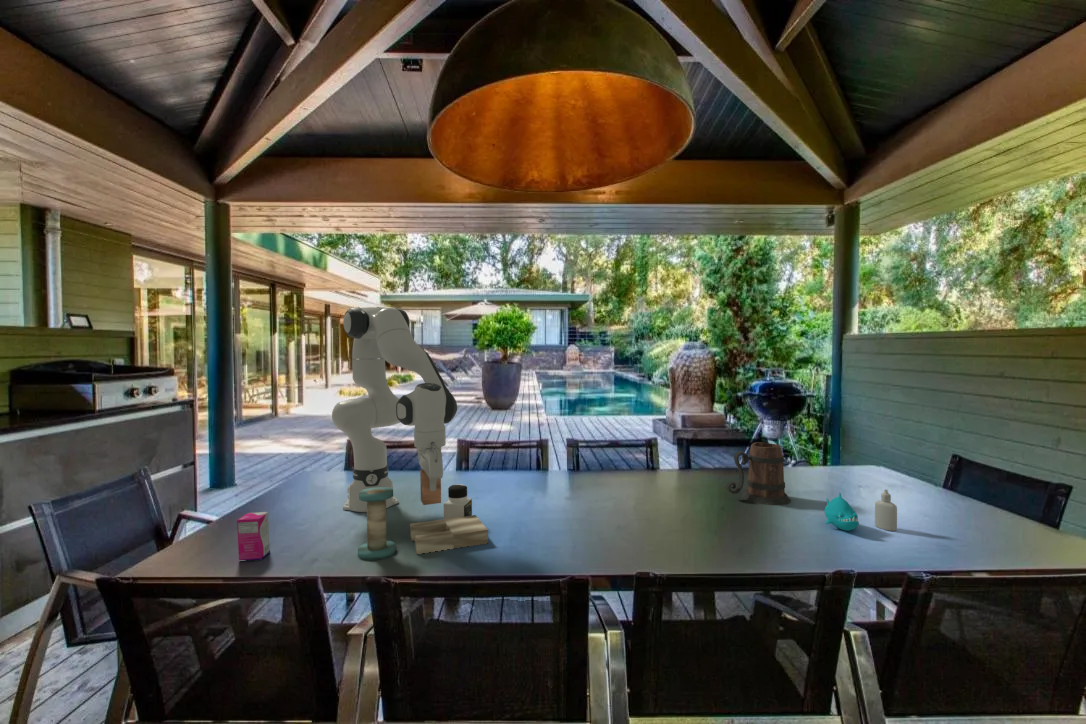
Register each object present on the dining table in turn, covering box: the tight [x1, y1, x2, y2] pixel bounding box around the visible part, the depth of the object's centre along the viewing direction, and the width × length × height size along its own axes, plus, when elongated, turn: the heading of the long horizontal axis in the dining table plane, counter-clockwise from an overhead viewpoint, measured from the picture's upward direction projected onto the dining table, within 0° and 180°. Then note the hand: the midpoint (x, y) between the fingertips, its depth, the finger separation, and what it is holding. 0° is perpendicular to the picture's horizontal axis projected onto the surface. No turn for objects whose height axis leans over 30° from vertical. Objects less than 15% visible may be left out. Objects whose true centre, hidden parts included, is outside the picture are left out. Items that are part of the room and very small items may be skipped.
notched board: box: [409, 514, 489, 555], centre depth 146 cm, size 14×20×4 cm
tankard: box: [725, 441, 792, 506], centre depth 185 cm, size 24×17×20 cm
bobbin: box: [357, 487, 397, 561], centre depth 138 cm, size 10×10×17 cm
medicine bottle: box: [443, 483, 473, 519], centre depth 162 cm, size 7×7×12 cm
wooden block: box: [419, 468, 442, 506], centre depth 144 cm, size 5×5×9 cm
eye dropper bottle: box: [874, 488, 898, 532], centre depth 153 cm, size 4×6×12 cm
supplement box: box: [236, 511, 271, 561], centre depth 135 cm, size 6×6×12 cm
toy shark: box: [824, 491, 860, 532], centre depth 156 cm, size 10×18×11 cm, turn 174°
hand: (430, 487), depth 144 cm, fingers closed on wooden block, 5 cm apart
